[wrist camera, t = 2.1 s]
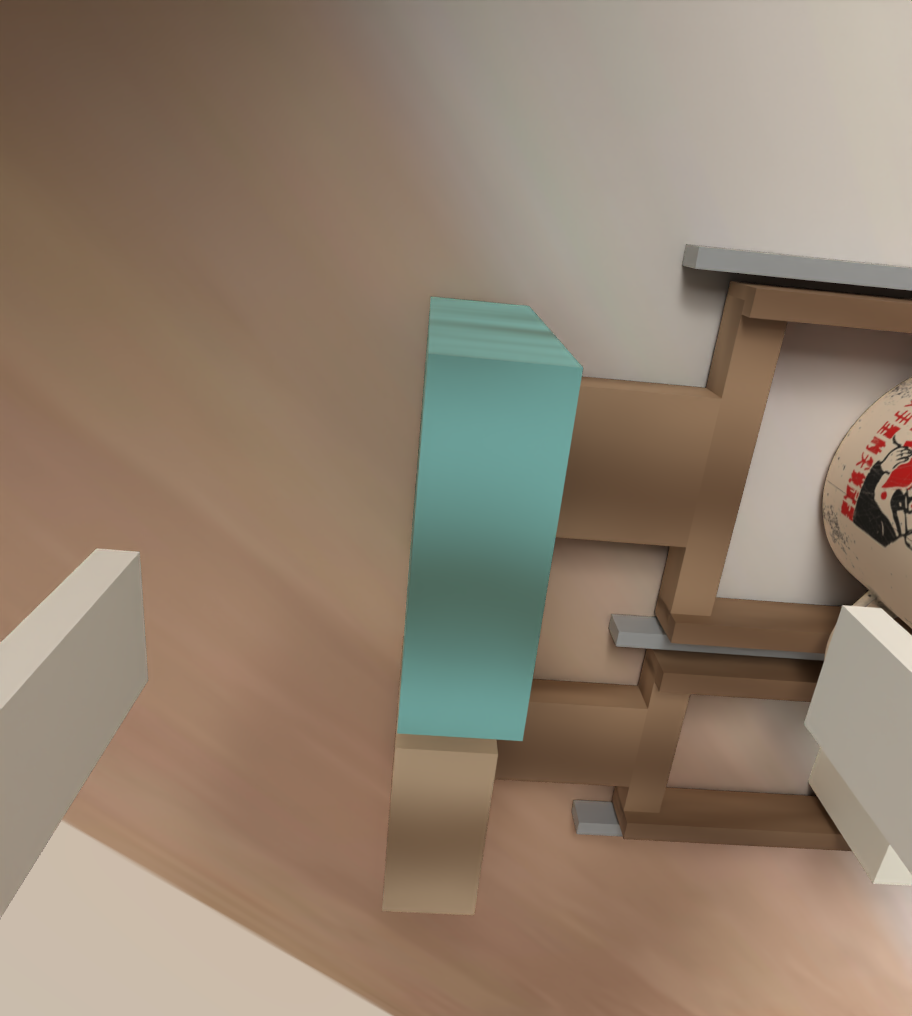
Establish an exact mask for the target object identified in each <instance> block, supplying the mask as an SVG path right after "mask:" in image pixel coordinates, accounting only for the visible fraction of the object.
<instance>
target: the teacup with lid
mask: <svg viewBox="0 0 912 1016" xmlns="http://www.w3.org/2000/svg"><path fill="white" fill-rule="evenodd" d="M823 520H824V526H825V531H826V535H827V538H828V540H829V543H830V546H831V548H832V549H833V551H834V553H835V555H836V556H837V558H838V559H839V561H840V562H841V564H842V565H843V566H844V567H845V568H846V569H847V570H848V572H850V573H851V574H852V575H853V576H854V577H855V578H856V579H857V580H858V581H860V582H861V583H862V584H863V585H864V586H865V587H866V588H867V589H868V590H869V591H868V592H867V593H866V594H864V595H863V596H862V597H861V598H860V599H859V600H858V601H857V602H855V603H854V604H853V605H852V606H859V607H872V608H881V609H883V610H884V611H885V612H886V613H887V614H888V615H889V616H890V617H892V618H893V619H895V618H896V617H899V618H900V619H902V620H903V621H904V622H905V623H906V624H907V625H908V626H909V627H910V628H912V377H911V378H909V379H907V380H906V381H904V382H902V383H900V384H899V385H897V386H896V387H894V388H893V389H891V390H890V391H889V392H887V393H886V394H884V395H883V396H882V397H881V398H880V399H878V400H877V401H876V402H875V403H874V404H873V405H872V406H871V407H870V408H868V409H867V410H866V411H865V412H864V413H863V415H862V416H861V417H860V418H859V419H858V420H857V421H856V423H855V424H854V425H853V426H852V428H851V429H850V430H849V432H848V433H847V435H846V436H845V438H844V439H843V441H842V442H841V444H840V446H839V448H838V450H837V452H836V454H835V456H834V458H833V460H832V463H831V465H830V468H829V471H828V474H827V477H826V482H825V487H824V493H823ZM835 626H836V625H835ZM834 629H835V627H834ZM834 629H833V630H832V632H831V634H830V637H829V639H828V642H827V646H826V650H825V657H826V654H827V651H828V648H829V645H830V642H831V639H832V636H833V632H834ZM824 660H825V658H824Z"/></svg>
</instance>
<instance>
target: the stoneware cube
mask: <svg viewBox="0 0 912 1016" xmlns="http://www.w3.org/2000/svg"><path fill="white" fill-rule="evenodd" d="M808 783H809V784H810V786H811V787H812V789H813V790H814V792H815V794H816V795H817V797H818V798H819V800H820V801H821V803H822V805H823V806H824V808H825V809H826V811H827V812H828V814H829V816H830V817H831V819H832V820H833V822H834V823H835V825H836V826H837V828H838V830H839V831H840V833H841V834H842V836H843V837H844V839H845V841H846V842H847V844H848V845H849V847H850V848H851V850H852V852H853V853H854V855H855V856H856V858H857V859H858V861H859V862H860V864H861V866H862V867H863V869H864V870H865V872H866V873H867V875H868V877H869V878H870V880H871V881H872V883H873V884H890V885H910V886H912V875H911V873H910V872H909V870H908V869H907V868H906V866H905V865H904V863H903V862H902V861H901V859H900V858H899V856H898V855H897V854H896V852H895V851H894V849H893V848H892V847H891V845H890V844H889V842H888V841H887V840H886V838H885V837H884V836H883V834H882V833H881V831H880V830H879V829H878V827H877V826H876V824H875V823H874V822H873V820H872V819H871V817H870V816H869V815H868V813H867V812H866V810H865V809H864V808H863V806H862V805H861V803H860V802H859V801H858V799H857V798H856V796H855V795H854V794H853V792H852V791H851V789H850V788H849V787H848V785H847V784H846V782H845V781H844V780H843V778H842V777H841V775H840V774H839V773H838V771H837V770H836V768H835V767H834V766H833V764H832V763H831V761H830V760H829V759H828V757H827V756H826V754H825V753H824V752H823V750H822V749H821V747H820V749H819V752H818V755H817V757H816V760H815V763H814V766H813V769H812V772H811V774H810V777H809V780H808Z"/></svg>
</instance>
